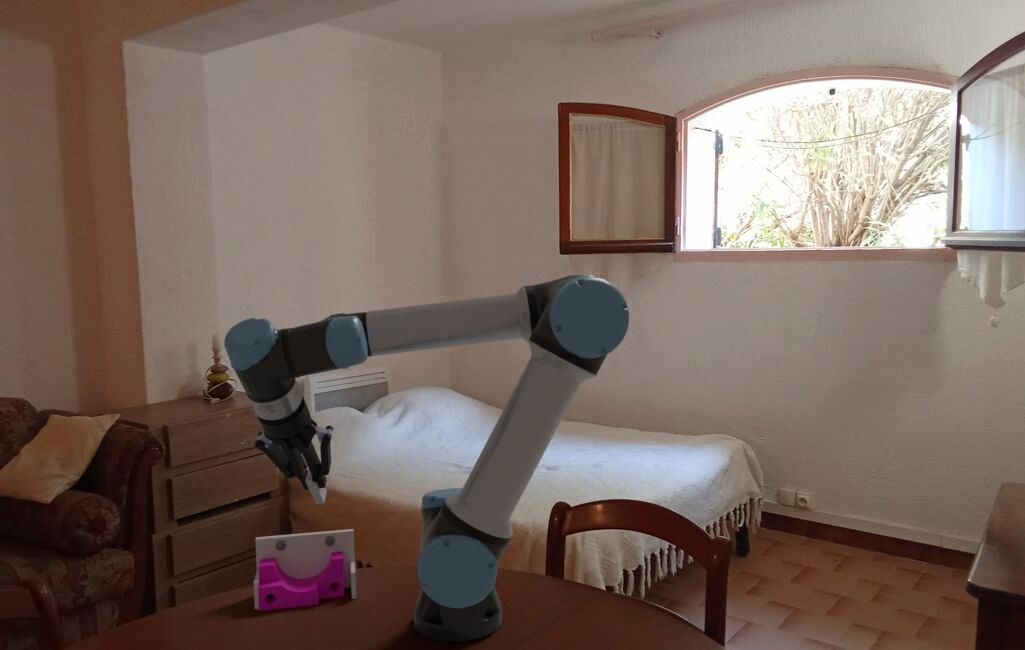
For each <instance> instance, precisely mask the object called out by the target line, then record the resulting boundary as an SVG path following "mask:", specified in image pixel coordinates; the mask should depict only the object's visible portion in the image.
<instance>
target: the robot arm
mask: <svg viewBox="0 0 1025 650" xmlns="http://www.w3.org/2000/svg"><path fill="white" fill-rule="evenodd" d="M629 324H630V312H629V308H628V304H627V301H626V299H625V296H623V293H621V292H620V290H619V289H618V288H617V287H616V286H615V285H613V284H612V283H610V282H609V281H607V280H606V279H604V278H602V277H598V276H597V275H591V274H576V275H575V274H574V275H573V274H572V275H567V276H564V277H560V278H557V279H554V280H551V281H546V282H543V283H537V284H531V285H525V286H524V285H523V286H521V287H520V289H519V290H518V291H517V292H515V293H507V294H500V295H491V296H484V297H483V296H482V297H474V298H468V299H458V300H452V301H451V300H450V301H449V300H448V301H442V302H441V301H440V302H436V303H435V302H434V303H425V304H418V305H417V304H416V305H410V306H408V305H407V306H401V307H400V306H399V307H394V308H386V309H378V310H369V311H363V312H354V313H352V312H351V313H344V312H342V313H334V314H330V315H329V316H327V317H325V318H324V319H322V320H319V321H316V322H312V323H308V324H303V325H299V326H294V327H288V328H281V329H276V326H274V324H273V323H272V322H271V321H270V320H268V318H263V317H262V318H259V317H251V318H247V319H244V320H241V321H239V322H238V323H236V324H235V325H233V326H232V327H231V328H230V329H229V330H228V332H227V333H226V335H225V336H224V337H225V338H224V341H223V344H224V348H225V352H226V354H227V356H228V358H229V361H230V366H231V368H232V369H233V371H234V372H235V374H236V376H237V377H238V379H239V382H240V384H241V385H242V387H243V389H244V391H245V394H246V396H247V398H248V400H249V402H250V404H251V407H252V408H253V410H254V412H255V414H256V415H257V419H258V421H259V423H260V426H261V427H262V429H263V431H262V432H258V433H257V435H256V439H255V442H254V447H255V448H256V449H257V450H260V451H261V452H262V453H264V454H265V455H266V456H267V457H268V459H270V461H271V462H272V464H274V465H275V466H276V468H277V469H278V470H279V471H280V472H281V473H282V474H283V475H284V477H286V478H287V479H289V480H291V479H293V478H296V479H298V480H299V481H300V483H301V485H302V487H303V489H304V490H306V491H308V490H309V492H310V494H311V496H312V499H313V500H314V503H315V505H322V504H325V503H326V502H325V501H326V497H327V492H328V491H327V488H326V485H327V479H328V478H327V477H326V476H329V475H330V470H331V466H332V451H331V450H332V448H331V447H332V446H331V441H332V437H333V431H334V427H333V426H332V425H327V426H325V428H324V427H321V426H319V425H318V423H317V422H316V421H315V420H313V418H312V416H311V412H310V410H309V406H308V405H307V402H306V401H305V398H304V396H303V392H302V390H301V388H300V386H299V384H298V381H297V378H301V377H305V376H310V375H317V374H320V373H326V372H331V371H335V370H340V369H343V370H345V369H346V370H347V369H348V368H350V367H353V366H358V365H360V364H361V365H362V364H363V363H365V362H366V361H367V359H368V358H370V357H377V356H383V355H392V354H402V353H408V352H409V353H410V352H418V351H426V350H433V349H442V348H450V347H459V346H467V345H474V344H484V343H485V344H486V343H493V342H499V341H508V340H515V339H516V340H517V339H523V340H524V341H525V342H527V343H528V346H529V349H530V352H531V356H530V357H529V360H528V362H527V364H526V365H525V368H524V369H523V372H522V374H521V375H520V377H519V379H518V381H517V383H516V385H515V387H514V389H513V391H512V392H511V394H510V396H509V398H508V400H507V403H506V404H505V406H504V408H503V410H502V412H501V414H500V416H499V418H498V420H497V421H496V423H495V426H494V427H493V429H492V431H491V433H490V435H489V437H488V439H487V441H486V442H485V445H484V446H483V448H482V450H481V452H480V454H479V456H478V458H477V460H476V461H475V464H474V465H473V467H472V470H471V471H470V472H469V475H468V476H467V478H466V481H465V483H464V485H463V487H460V488H459V487H457V488H456V487H455V488H453V487H452V488H443V489H436V490H435V489H434V490H432V491H431V490H430V491H429V492H427V493H425V494H424V495H423V496H422V500H421V507H420V512H421V536H420V538H421V539H420V545H419V552H418V557H417V562H416V573H417V577H418V580H419V583H420V590H419V594H418V596H417V600H416V604H415V608H414V611H413V618H414V619H413V620H414V621H413V623H414V628H415V630H416V631H417V632H418V633H419V634H420V635H422V636H424V637H425V638H428V639H431V640H435V641H440V642H446V643H447V642H449V643H457V642H458V643H459V642H460V643H461V642H468V641H474V640H478V639H481V638H483V637H486V636H489V635H491V634H493V633H494V632H496V631H497V630H498V629H499V628H500V627H501V624H502V623H503V613H502V611H503V610H502V604H501V601H500V598H499V595H498V593H497V592H498V591H497V590H496V587H495V583H496V581H497V577H498V571H499V568H498V564H499V562H500V560H501V558H502V556H503V554H504V553H505V550H506V549H507V546H508V545H509V542H510V540H511V539H512V537H513V534H514V531H513V528H512V525H511V522H510V521H511V517H512V515H513V513H514V511H515V510H516V508H517V505H518V504H519V502H520V500H521V497H523V494H524V492H525V491H526V488H527V486H528V485H529V483H530V481H531V479H532V477H533V475H534V473H535V471H536V470H537V468H538V465H539V464H540V462H541V460H542V458H543V456H544V454H545V453H546V450H547V448H548V446H549V445H550V444H551V441H552V439H553V437H554V435H555V433H556V431H557V429H558V427H559V426H560V423H561V422H562V420H563V418H564V416H565V414H566V412H567V410H568V408H569V406H570V405H571V402H572V400H573V399H574V397H575V395H576V393H577V392H578V390H579V387H580V385H581V383H582V382H584V381H587V380H590V379H593V378H596V376H597V375H598V373H599V371H600V369H601V368H602V365H603V364H604V363H605V360H606V358H607V356H608V355H609V354H610V353H613V351H614V350H615V349H617V347H619V346H620V344H621V343H622V341H624V338H625V337H626V334H627V332H628V330H629ZM315 436H317V440H318V442H319V444H320V445H319V448H320V449H319V452H320V457H319V455H318V453H317V451H316V449H315V446H314V443H313V441H312V440H313V438H314V437H315Z"/></svg>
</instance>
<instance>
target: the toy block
mask: <svg viewBox="0 0 1025 650" xmlns="http://www.w3.org/2000/svg"><path fill="white" fill-rule="evenodd" d="M332 582H337V583H336V584H333V583H332ZM258 596H259V609H258V612H260V611H269V610H270V611H271V610H278V609H291V608H298V607H307V606H309V607H310V606H317V605H319V600H320V599H321V600H322V599H328V598H329V599H331V598H339V597H340V598H341V597H345V588H344V575H343V551H341V552H332V555H331V559H330V561H329V563H328V565H327V566H326V568H325V569H324V570H323V571H322V572H320V573H319V574H317V575H316V576H313V577H310V578H305V579H298V578H294V577H291V576H289V575H287V574H285V573H284V572H283V571H282V570H281V569H280V567H279V566H278V564H277V561H276V558H266V559H261V560H260V564H259V586H258Z"/></svg>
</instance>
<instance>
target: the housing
mask: <svg viewBox="0 0 1025 650" xmlns="http://www.w3.org/2000/svg"><path fill="white" fill-rule="evenodd" d="M341 551H343V575H344V589H345V588H347V589H348V588H350V589H351V590H350V591H351V600H356V599H357V580H356V560H355V559H356V558H355V530H354V528H351V529H348V528H347V529H336V530H326V531H315V532H304V533H303V532H302V533H291V534H290V533H289V534H281V535H280V534H279V535H270V536H269V535H268V536H267V535H266V536H259V537H258V536H256V537H255V561H256V562H255V563H256V565H255V566H256V571H255V572H256V573H255V576H254V579H253V596H254V597H253V599H254V600H253V601H254V602H253V603H254V610H259V596H258V586H259V564H260V560H261V559H266V558H276V561H277V564H278V566H279V567H280V569H281V570H282V571H283V572H284V573H285V574H287V575H289V576H291V577H294V578H298V579H305V578H310V577H313V576H316V575H317V574H319V573H320V572H322V571H323V570H324V569H325V568H326V566H327V565H328V563H329V561H330V559H331V555H332V552H341ZM332 583H333V584H336V583H337V582H332Z"/></svg>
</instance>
